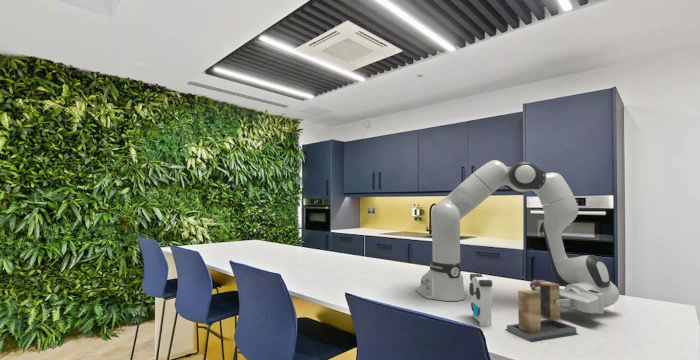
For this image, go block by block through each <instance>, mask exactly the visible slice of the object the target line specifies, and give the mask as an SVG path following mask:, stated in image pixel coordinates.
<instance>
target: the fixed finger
mask: <svg viewBox="0 0 700 360" xmlns="http://www.w3.org/2000/svg"><path fill="white" fill-rule="evenodd" d="M517 307H518V309H517V310H518V311H517V313H518V324H519V329H520V330H522V331H524V332H526V333H535V332H541V322H540V321H541V307H540V293H539V292H536V291H533V290H532V289H527V288H525V289H519V290H517Z"/></svg>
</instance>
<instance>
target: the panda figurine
mask: <svg viewBox="0 0 700 360" xmlns="http://www.w3.org/2000/svg"><path fill="white" fill-rule="evenodd" d="M469 279H470V283H469V295H470V298H471V303H470V306H471V307H470V308H471V311H472V319H474V320H476V321H477V322H478V326H488V327H489V326H490V327H491V326H493V325H492V307H493V304H494V295H493V293H494V292H493V281H492V280H491V279H489V278H488V277H485V276H483V274H482V273H470V274H469Z"/></svg>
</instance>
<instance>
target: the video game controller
mask: <svg viewBox="0 0 700 360" xmlns="http://www.w3.org/2000/svg"><path fill="white" fill-rule="evenodd" d="M541 282H548V281H547V280H544V279H538V280H537V279H533V280H532V281H531V282H530V283H529V288H530V290H533V291H535V288H536V287H540V283H541Z"/></svg>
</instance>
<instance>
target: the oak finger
mask: <svg viewBox="0 0 700 360" xmlns="http://www.w3.org/2000/svg"><path fill="white" fill-rule="evenodd" d="M559 289H560V283H559V284H558V283H555V282H551V281H547V282H541V283H540V317H543V318H545V319H546V320H549V319H554V320H561V306H557V305H554V304H553V303H554V302H553V300H554V299H560V290H559Z"/></svg>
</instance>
